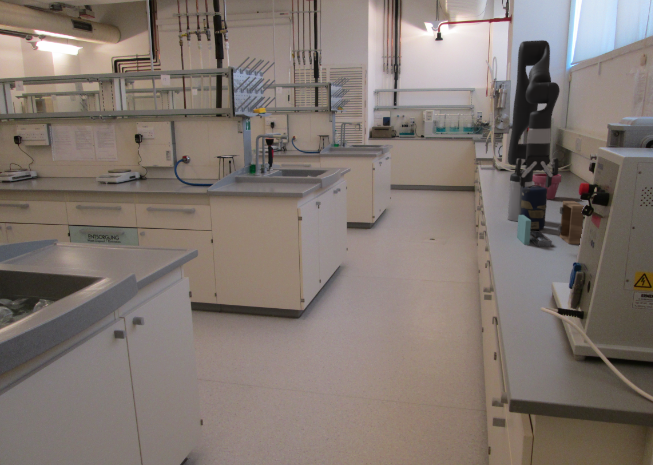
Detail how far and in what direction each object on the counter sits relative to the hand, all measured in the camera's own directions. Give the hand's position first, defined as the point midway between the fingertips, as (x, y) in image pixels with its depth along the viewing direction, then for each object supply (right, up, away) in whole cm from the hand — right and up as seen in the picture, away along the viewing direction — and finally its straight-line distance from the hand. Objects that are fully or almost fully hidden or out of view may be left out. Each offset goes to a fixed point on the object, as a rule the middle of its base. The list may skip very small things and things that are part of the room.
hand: (535, 187), depth 177 cm
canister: (+10, -15, +26) cm, 31 cm away
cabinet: (+15, -19, +5) cm, 25 cm away
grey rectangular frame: (+4, -19, +6) cm, 21 cm away
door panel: (-2, -20, +7) cm, 21 cm away
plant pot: (+45, +2, +92) cm, 102 cm away
